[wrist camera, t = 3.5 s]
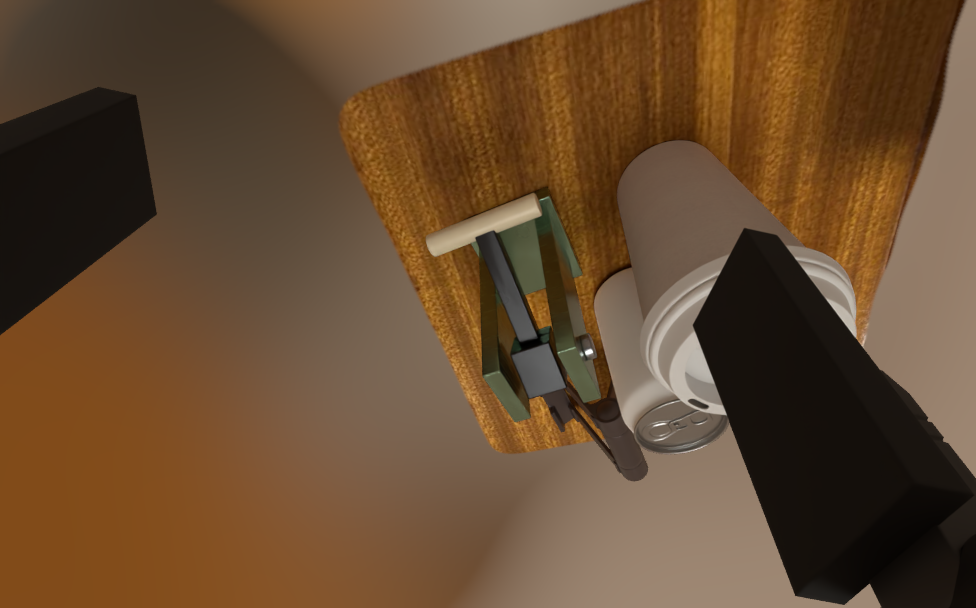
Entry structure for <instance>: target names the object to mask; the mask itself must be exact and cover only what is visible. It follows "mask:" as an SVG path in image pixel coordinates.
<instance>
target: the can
mask: <svg viewBox="0 0 976 608" xmlns="http://www.w3.org/2000/svg"><path fill="white" fill-rule="evenodd" d="M594 311H595V315H596V319H597V324H598V327H599V331H600V335H601V339H602V343H603V347H604V351H605V355H606V359H607V363H608V366H609V370H610V374H611V378H612V382H613V386H614V389H615V393H616V397H617V401H618V404H619V408H620V411H621V415H622V418H623V420H624V422H625V424H626V425H627V427H628V428H629V429H630V430H631V431H632V432H633V433H634V438H635V440H636V442H637V443H638V445H639V446H641V447H642V448H644V449H645V450H648V451H650V452H653V453H658V454H681V453H687V452H691V451H694V450H697V449H700V448H703V447H705V446H707V445H709V444H711V443H712V442H714V441H715V440H717V439H718V438H719V437H720V436H721V435H722V434H723V433H724V432H725V431H726V429H727V427H728V425H729V420H728V417H727V415H719V414H712V413H707V412H703V411H699V410H697V409H694V408H692V407H690V406H688V405H686V404H685V403H684V402H682V401H681V400H680V399H679V398H678V397H677V396H676V395H675V394H674V393H672V392H671V391H669V390H668V389H666V388H665V387H664V386H663V385H662V384H661V383H660V382H659V381H658V380H657V379H656V378H655V377H654V376H653V375H652V373H651V372H650V370H649V369H648V368H647V366H646V365H645V363H644V361H643V359H642V356H641V352H640V334H641V329H642V326H643V324H644V321H643V316H642V311H641V307H640V302H639V297H638V293H637V288H636V283H635V279H634V274H633V270H632V267H630V268H627V269H624V270H622V271H619V272H617V273H616V274H614V275H613V276H611V277H610V278H609V279H608V280H606V281H605V282H604V283H603V284H602V286H601V287H600V288H599V290H598V292H597V294H596V296H595V300H594Z"/></svg>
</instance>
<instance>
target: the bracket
mask: <svg viewBox="0 0 976 608" xmlns="http://www.w3.org/2000/svg"><path fill="white" fill-rule="evenodd" d="M533 193H535V194H536V196H537V198H538V201H539V203H540V206H541V209H542V216H540V217H537V218H535V219H532V220H530V221H527V222H524V223H522V224H519V225H517V226H514V227H511V228H509V229H506V230H504V231H501V232H499V233H500V236H501V238H502V240H503V243H504V245H505V248H506V250H507V253H508V255H509V258H510V260H511V262H512V265H513V267H514V270H515V272H516V275H517V277H518V280H519V282H520V284H521V287H522V289H523V292H524V294H525V295H527V294H529V293H532V292H535V291H538V290H541V289H544V288H546V292H547V298H548V304H549V309H550V315H551V321H552V327H553V333H554V339H555V345H556V351H557V354H558V356H559V358H560V360H561V362H562V364H563V366H564V367H565V369H566V371H567V373H568V375H569V377H570V379H571V380H572V382H573V384H574V386H575V388H576V390H577V392H578V393H579V395H580V397H581V399H582V401H583V403H585V402H589V401H592V400H596V399H599V398H601V394H600V390H599V386H598V381H597V377H596V373H595V368H594V364H593V360H592V359H595V358H597V354H596V350H595V346H594V343H593V341H592V338H591V336H590V334H589V333H586V329H585V325H584V321H583V316H582V312H581V307H580V303H579V299H578V294H577V290H576V286H575V281H574V278H575V277H578V276H581V275H583V273H582V269H581V265H580V262H579V260H578V257H577V255H576V253H575V250H574V248H573V246H572V243H571V241H570V239H569V236H568V234H567V232H566V229H565V227H564V224H563V222H562V220H561V217H560V215H559V213H558V210H557V208H556V206H555V203H554V201H553V199H552V196H551V194H550V191H549V189H548V187H545V188H543V189H540V190H538V191H535V192H533ZM530 194H531V193H530ZM528 195H529V194H528ZM525 196H526V195H525ZM523 197H524V196H523ZM520 198H521V197H520ZM518 199H519V198H518ZM515 200H516V199H515ZM513 201H514V200H513ZM510 202H511V201H510ZM508 203H509V202H508ZM505 204H506V203H505ZM503 205H504V204H503ZM500 206H501V205H500ZM498 207H499V206H498ZM495 208H496V207H495ZM493 209H494V208H493ZM490 210H491V209H490ZM488 211H489V210H488ZM485 212H486V211H485ZM483 213H484V212H483ZM480 214H481V213H480ZM478 215H479V214H478ZM475 216H476V215H475ZM473 217H474V216H473ZM470 218H471V217H470ZM468 219H469V218H468ZM465 220H466V219H465ZM463 221H464V220H463ZM471 245H472V247H473V248H474V250H475V252H476V253H477V255H478V257H479V271H480V305H481V340H482V374H483V378H484V379H485V381H486V382H487V384H488V385H489V386H490V388H491V389H492V391H493V392H494V393H495V395H496V396H497V398H498V399H499V401H500V402H501V403H502V405H503V406H504V408H505V409H506V410H507V412H508V413H509V415H510V416H511V418H512V419H513V420H514V422H518V421H522V420H525V419H529V418H531V414H530V404H529V398H528V396H527V394H526V392H525V389H524V387H523V385H522V382H521V380H520V378H519V375H518V373H517V371H516V368H515V366H514V364H513V361H512V359H511V357H510V352H511V348H512V345H513V341H514V338H515V337H516V334H515V332H514V330H513V327H512V325H511V322H510V320H509V318H508V315H507V313H506V311H505V308H504V306H503V303H502V301H501V299H500V296H499V294H498V292H497V289H496V287H495V284H494V282H493V280H492V277H491V275H490V273H489V270H488V268H487V266H486V263H485V261H484V258H483V256H482V254H481V251H480V249H479V247H478V244H477V242H476V241H475V242H473V243H471Z"/></svg>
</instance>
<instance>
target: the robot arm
mask: <svg viewBox="0 0 976 608" xmlns="http://www.w3.org/2000/svg"><path fill="white" fill-rule="evenodd" d="M156 214H157V213H156V207H155V201H154V195H153V190H152V184H151V178H150V173H149V167H148V161H147V155H146V150H145V144H144V138H143V132H142V127H141V121H140V115H139V110H138V104H137V98H136V95H132V94H128V93H123V92H119V91H114V90H109V89H105V88H100V87H97V88H95V89H92V90H90V91H87V92H84V93H81V94H79V95H76V96H73V97H71V98H68V99H66V100H63V101H60V102H58V103H55V104H52V105H50V106H47V107H45V108H42V109H39V110H37V111H34V112H31V113H29V114H26V115H23V116H21V117H18V118H16V119H13V120H10V121H8V122H5V123H3V124H0V335H1V334H2V333H4V332H5V331H6V330H8V329H9V328H10V327H11V326H13V325H14V324H15V323H17V322H18V321H19V320H20V319H22V318H23V317H24V316H26V315H27V314H28V313H30V312H31V311H32V310H33V309H35V308H36V307H37V306H39V305H40V304H41V303H42V302H44V301H45V300H46V299H47V298H49V297H50V296H51V295H53V294H54V293H55V292H57V291H58V290H59V289H61V288H62V287H63V286H64V285H66V284H67V283H68V282H70V281H71V280H72V279H74V278H75V277H76V276H77V275H79V274H80V273H81V272H83V271H84V270H85V269H87V268H88V267H89V266H90V265H92V264H93V263H94V262H96V261H97V260H98V259H99V258H101V257H102V256H103V255H104V254H106V253H107V252H109V251H110V250H111V249H112V248H114V247H115V246H116V245H118V244H119V243H120V242H121V241H123V240H124V239H125V238H127V237H128V236H129V235H131V234H132V233H133V232H134V231H136V230H137V229H138V228H140V227H141V226H142V225H143V224H145V223H146V222H147V221H149V220H150V219H151V218H153V217H154V216H155V215H156ZM693 328H694V331H695V333H696V336H697V339H698V341H699V344H700V346H701V349H702V352H703V354H704V357H705V360H706V362H707V365H708V367H709V370H710V373H711V375H712V378H713V381H714V383H715V386H716V388H717V391H718V394H719V396H720V399H721V402H722V404H723V407H724V409H725V412H726V415H727V417H728V420H729V423H730V425H731V428H732V431H733V433H734V435H735V438H736V441H737V444H738V446H739V449H740V451H741V454H742V457H743V459H744V462H745V465H746V467H747V470H748V473H749V475H750V478H751V480H752V483H753V486H754V488H755V491H756V494H757V496H758V499H759V501H760V504H761V507H762V509H763V512H764V515H765V517H766V520H767V523H768V525H769V528H770V530H771V533H772V536H773V538H774V541H775V543H776V546H777V549H778V551H779V554H780V557H781V559H782V562H783V565H784V567H785V570H786V572H787V575H788V578H789V580H790V583H791V586H792V588H793V591H794V593H795V596H799V597H804V598H810V599H816V600H820V601H826V602H832V603H837V604H842V605H845V604H846V603H847V602H848V601H849V600H850V599H852V598H853V597H854V596H855V595H856V594H858V593H859V592H860V591H861V590H862V589H864V588H865V587H866V586H867V585H868V584H870V585H871V587H872V589H873V591H874V593H875V595H876V597H877V599H878V601H879V603H880V605H881V608H976V478H975V477H974V476H973V474H972V473H971V472H970V470H969V469H968V468H967V467H966V465H965V464H964V463H963V461H962V460H961V459H960V458H959V456H958V455H957V454H956V453H955V451H954V450H953V449H952V448H951V446H950V445H949V444H948V443H946V442H943V438H944V437H943V436H942V435H941V434H940V432H939V431H938V430H937V429H936V427H935V426H934V424H933V423H932V422H928V421H927V419H928V417H927V416H926V414H925V413H924V412H923V411H922V409H921V408H920V407H919V405H918V404H917V403H916V402H915V400H914V399H913V398H912V397H911V395H910V394H909V393H908V392H907V391H906V390H904V389H903V388H902V387H901V386H900V385H899V384H897V383H896V382H895V381H894V380H893V379H891V378H890V377H889V376H888V375H887V374H885V373H884V372H883V371H881V370H879V368H878V367H877V366H876V364H875V363H874V362H873V360H872V359H871V358H870V356H869V355H868V354H867V352H866V351H865V350H864V348H863V347H862V346H861V345H860V343H859V342H858V341H857V339H856V338H855V337H854V335H853V334H852V333H851V331H850V330H849V329H848V327H847V326H846V325H845V323H844V322H843V321H842V319H841V318H840V317H839V316H838V314H837V313H836V312H835V310H834V309H833V308H832V306H831V305H830V304H829V302H828V301H827V300H826V298H825V297H824V296H823V294H822V293H821V292H820V290H819V289H818V288H817V287H816V285H815V284H814V283H813V281H812V280H811V279H810V277H809V276H808V275H807V273H806V272H805V271H804V269H803V268H802V267H801V265H800V264H799V263H798V261H797V260H796V259H795V258H794V256H793V255H792V254H791V252H790V251H789V250H788V248H787V247H786V246H785V244H784V243H783V242H782V240H781V239H780V238H779V236H778V235H775V234H771V233H766V232H761V231H757V230H752V229H748V228H744V229H743V231H742V233H741V234H740V236H739V238H738V240H737V242H736V244H735V246H734V248H733V250H732V251H731V253H730V255H729V257H728V259H727V261H726V263H725V265H724V267H723V268H722V270H721V272H720V274H719V276H718V278H717V280H716V282H715V284H714V285H713V287H712V289H711V291H710V293H709V295H708V297H707V299H706V301H705V302H704V304H703V306H702V308H701V310H700V312H699V314H698V316H697V318H696V319H695V321H694V323H693Z"/></svg>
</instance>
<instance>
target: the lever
mask: <svg viewBox="0 0 976 608" xmlns="http://www.w3.org/2000/svg"><path fill="white" fill-rule="evenodd" d="M540 216H542V209H541V206H540V203H539V201H538V198H537V196H536V194H535V193H531V194H529V195H526V196H524V197H521V198H519V199H516V200H514V201H511V202H509V203H506V204H504V205H501V206H499V207H496V208H494V209H491V210H489V211H486V212H484V213H481V214H479V215H476V216H474V217H471V218H469V219H466V220H464V221H461V222H459V223H456V224H454V225H451V226H449V227H446V228H444V229H441V230H439V231H436V232H434V233H431V234H429V235H427V236H426V243H427V246H428V249H429V251H430V252H431V254H432V255H433V256H439V255H442V254H444V253H447V252H449V251H452V250H454V249H457V248H460V247H462V246H465V245H467V244H470V243H473V242H475V241H476V242H477V244H478V247H479V249H480V251H481V254H482V256H483V258H484V261H485V263H486V266H487V268H488V270H489V273H490V275H491V277H492V280H493V282H494V284H495V287H496V289H497V292H498V294H499V296H500V299H501V301H502V303H503V306H504V308H505V311H506V313H507V315H508V318H509V320H510V322H511V325H512V327H513V330H514V332H515V334H516V337H515V338H514V341H513V345H512V348H511V352H510V357H511V359H512V361H513V364H514V366H515V368H516V371H517V373H518V375H519V378H520V380H521V382H522V385H523V387H524V389H525V392H526V394H527V396H528V398H529V399H531V398H535V397H538V396H541V395H545V394H548V393H552V392H555V391H558V390H562V389H565V388H567V371H566V369H565V367H564V366H563V364H562V362H561V360H560V358H559V356H558V354H557V351H556V345H555V339H554V333H553V331H552V328H551V326H548V327H545V328H542V329H538V326H537V324H536V321H535V319H534V316H533V314H532V311H531V309H530V307H529V304H528V302H527V299H526V297H525V294H524V292H523V289H522V287H521V284H520V282H519V280H518V277H517V275H516V272H515V270H514V267H513V265H512V262H511V260H510V258H509V255H508V253H507V250H506V248H505V245H504V243H503V240H502V238H501V236H500V233H499V232H501V231H504V230H506V229H509V228H511V227H514V226H517V225H519V224H522V223H524V222H527V221H530V220H532V219H535V218H537V217H540Z"/></svg>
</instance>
